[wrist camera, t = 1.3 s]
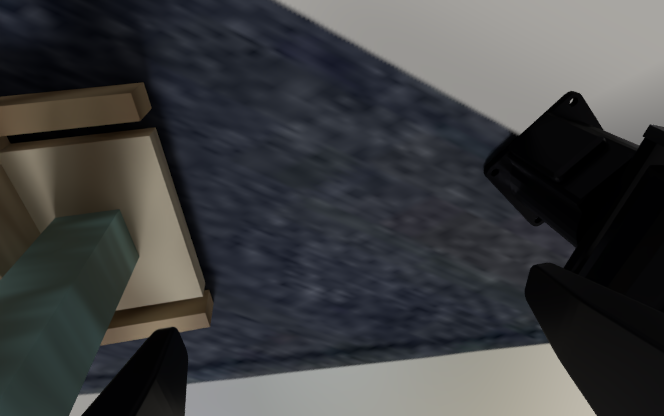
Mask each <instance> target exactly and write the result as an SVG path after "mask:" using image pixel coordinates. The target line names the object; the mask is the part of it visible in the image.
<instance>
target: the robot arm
mask: <svg viewBox="0 0 664 416" xmlns="http://www.w3.org/2000/svg"><path fill="white" fill-rule="evenodd" d="M571 99H573V101H572V102H571V103H570V100H571ZM569 103H570V104H569ZM643 137H645V138H644V140H643V141H642V143H641V144H640V146H639V145H637V144H634V143H632V142H629V141H627V140H625V139H622V138H620V137H617V136H615V135H613V134H611V133H608V132H606V131H604V130H603V129H602V127H601V125H600V124H599V122H598V120H597V119H596V117H595V116H594V114H593V112H592V111H591V109H590V108H589V106H588V104H587V103H586V101H585V100H584V98H583V97H582V95H581V94H580V93H577V92H574V91H570V92H568V93H566V94H565V95H564V96H563V97H561V98H560V99H559V100H558V101H557V102H556V103H555V104H554V105H553V106H551V107H550V108H549V109H548V110H547V111H546V112H545V113H544V114H543V115H542V116H540V117H539V118H538V119H537V120H536V121H535V122H534V123H533V124H532V125H531V126H530V127H528V128H527V129H526V130H525V131H524V132H523V133H522V134H521V135H519V136H518V137H517V138H516V139H515V140H514V141H513V142H512V143H511V144H509V145H508V146H507V147H506V148H505V149H504V150H503V151H502V152H501V153H500V154H498V155H497V156H496V157H495V158H494V159H493V160H492V161H491V162H490V163H489V164H487V166H486V167H485V168H484V175H485V176H486V177H487V178H488V179H489V180H490V181H491V183H492V184H493V185H494V186H495V187H496V188H497V189H498V190H499V191H500V192H501V193H502V194H503V195H504V196H505V197H506V198H507V200H508V201H509V202H510V203H511V204H512V205H513V206H514V207H515V208H516V209H517V210H518V211H519V212H520V213H521V214H522V216H523V217H524V218H525V219H526V220H527V221H528V222H529V223H530V224H531V225H533V226H539V225H541V224H542V223H544V222H545V223H547V224H548V225H549V226H550V227H551V228H553V229H554V230H555V231H556V232H557V233H559V234H560V235H561V236H562V237H564V238H565V239H566V240H567V241H568V242H570V243H571V244H572V245H573V246H574V247H576V249H575V250H574V252H573V253H572V255H571V257H570V258H569V260H568V261H567V263H566V265H565V266H564V268H562V267H559V266H557V265H555V264H552V263H543V264H537V265H533V266H532V267H531V269H530V272H529V275H528V279H527V283H526V287H525V297H526V300H527V302H528V304H529V306H530V308H531V310H532V311H533V313H534V315H535V317H536V319H537V321H538V323H539V324H540V326H541V328H542V330H543V332H544V334H545V335H546V337H547V339H548V341H549V343H550V345H551V346H552V348H553V350H554V352H555V353H556V355H557V357H558V358H559V360H560V362H561V363H562V365H563V366H564V368H565V369H566V371H567V372H568V374H569V375H570V377H571V378H572V380H573V381H574V383H575V384H576V386H577V387H578V389H579V390H580V391H581V393H582V394H583V396H584V397H585V399H586V400H587V402H588V403H589V405H590V406H591V408H592V409H593V411H594V412H595V414H596V415H597V416H664V127H661V126H656V125H649V127H648V128H647V130H646V132H645V133H644V135H643ZM493 169H495V171H494V172H493V173H491V172H492V170H493ZM537 217H538V218H537ZM536 218H537V219H536ZM187 371H188V354H187V350H186V347H185V345H184V343H183V340H182V338H181V335H180V333H179V331H178V329H177V328H176V327H167V328H161V329H157V330H155V331H154V332H153V333H152V334H151V335H150V336H149V338H148V339H147V340H146V341H145V342H144V343H143V345H142V346H141V347H140V348H139V349H138V350H137V352H136V353H135V354H134V355H133V356H132V357H131V359H130V360H129V361H128V362H127V363H126V364H125V366H124V367H123V368H122V369H121V370H120V371H119V372H118V374H117V375H116V376H115V377H114V378H113V379H112V381H111V382H110V383H109V384H108V385H107V386H106V388H105V389H104V390H103V391H102V392H101V393H100V395H99V396H98V397H97V398H96V399H95V400H94V402H93V403H92V404H91V405H90V406H89V407H88V409H87V410H86V411H85V412H84V413H83V414H82V415H81V416H185V401H186V386H187Z"/></svg>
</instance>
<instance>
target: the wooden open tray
mask: <svg viewBox="0 0 664 416" xmlns="http://www.w3.org/2000/svg"><path fill="white" fill-rule="evenodd" d="M204 288H205V280H204V277H203V274H202V271H201V268H200V265H199V261H198V258H197V255H196V252H195V249H194V246H193V243H192V240H191V236H190V233H189V230H188V227H187V224H186V221H185V218H184V214H183V211H182V208H181V205H180V202H179V199H178V196H177V193H176V189H175V186H174V183H173V180H172V177H171V174H170V171H169V168H168V164H167V161H166V158H165V155H164V152H163V149H162V146H161V142H160V139H159V136H158V133H157V130H156V127H155V128H146V129H137V130H129V131H120V132H111V133H102V134H93V135H84V136H75V137H66V138H57V139H48V140H40V141H31V142H22V143H13V144H10V142H9V140H8V138H7V136H0V416H69V414H70V412H71V410H72V407H73V405H74V403H75V401H76V398H77V396H78V394H79V392H80V389H81V387H82V385H83V383H84V380H85V378H86V376H87V374H88V371H89V369H90V367H91V365H92V362H93V360H94V358H95V356H96V353H97V351H98V349H99V347H100V344H101V342H102V340H103V338H104V335H105V333H106V331H107V329H108V326H109V324H110V322H111V320H112V317H113V315H114V313H115V311H116V310H122V309H129V308H135V307H141V306H147V305H153V304H160V303H166V302H172V301H178V300H184V299H191V298H197V297H203V293H204Z"/></svg>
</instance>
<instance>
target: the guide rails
mask: <svg viewBox="0 0 664 416" xmlns="http://www.w3.org/2000/svg"><path fill="white" fill-rule="evenodd" d="M150 110H151V104H150V101H149V98H148V95H147V92H146V89H145V85H144V82H143V83H133V84H123V85H113V86H103V87H93V88H83V89H73V90H63V91H52V92H42V93H32V94H22V95H12V96H2V97H0V136H9V135H18V134H27V133H36V132H45V131H55V130H64V129H73V128H82V127H91V126H100V125H109V124H118V123H127V122H136V121H141V120H142V119H143V118H144V116H145V115H146V114H147V113H148V112H149V111H150ZM212 309H213V300H212V297H211V294H210V291H209V290H204V293H203V297H197V298H191V299H184V300H178V301H172V302H166V303H160V304H153V305H147V306H141V307H135V308H129V309H122V310H116V311H115V313H114V315H113V317H112V320H111V322H110V324H109V326H108V329H107V331H106V333H105V335H104V338H103V340H102V342H101V344H100V345H106V344H112V343H118V342H124V341H130V340H136V339H142V338H147V337H149V336H150V335H151V334H152V333H153V332H154V331H155V330H157V329H161V328H167V327H176V328H177V329H178V331H179V332H183V331H188V330H194V329H200V328H206V327H210V323H211V316H212Z"/></svg>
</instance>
